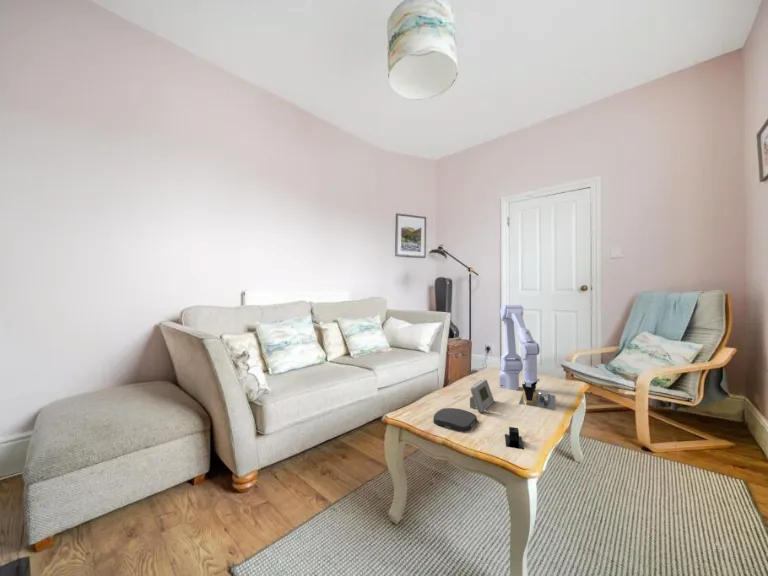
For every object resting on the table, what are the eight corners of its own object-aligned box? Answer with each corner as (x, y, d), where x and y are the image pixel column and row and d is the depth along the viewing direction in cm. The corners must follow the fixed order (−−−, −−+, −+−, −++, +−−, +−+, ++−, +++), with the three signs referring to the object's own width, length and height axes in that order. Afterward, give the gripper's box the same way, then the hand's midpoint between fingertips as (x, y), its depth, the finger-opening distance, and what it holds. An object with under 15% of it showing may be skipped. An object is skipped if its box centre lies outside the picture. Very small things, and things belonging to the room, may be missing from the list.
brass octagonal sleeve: (522, 402, 139) (522, 391, 139) (523, 398, 143) (523, 387, 143) (536, 404, 136) (536, 393, 136) (537, 400, 141) (537, 389, 141)
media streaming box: (445, 411, 131) (445, 404, 131) (479, 420, 122) (479, 413, 122) (429, 424, 119) (430, 416, 119) (466, 434, 110) (466, 426, 110)
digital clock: (481, 414, 127) (481, 389, 127) (462, 408, 134) (462, 384, 134) (500, 405, 138) (500, 381, 138) (482, 399, 144) (482, 377, 144)
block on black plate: (502, 433, 112) (502, 420, 112) (524, 436, 109) (524, 423, 109) (503, 450, 100) (503, 436, 100) (527, 454, 98) (527, 439, 98)
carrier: (519, 405, 137) (519, 396, 137) (523, 392, 154) (523, 384, 154) (554, 411, 130) (554, 402, 130) (555, 397, 147) (555, 389, 147)
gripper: (538, 373, 131) (538, 405, 131) (540, 366, 144) (540, 395, 144) (520, 371, 135) (520, 402, 135) (524, 364, 147) (524, 392, 147)
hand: (529, 398), depth 140 cm, fingers closed on brass octagonal sleeve, 6 cm apart
